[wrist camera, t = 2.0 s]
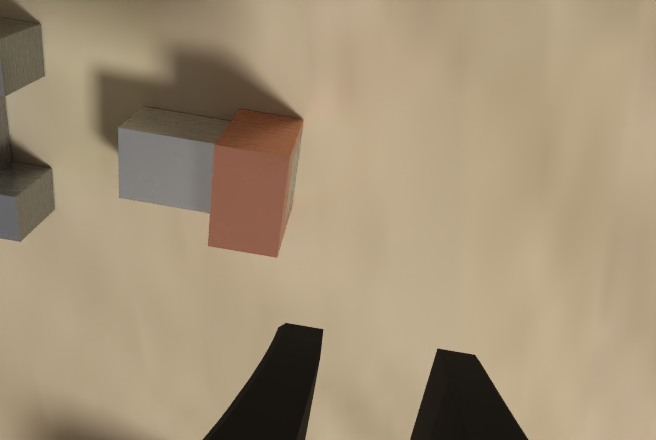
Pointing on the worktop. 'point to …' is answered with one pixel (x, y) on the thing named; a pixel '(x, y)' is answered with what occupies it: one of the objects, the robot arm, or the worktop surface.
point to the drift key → (215, 171)
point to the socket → (4, 175)
